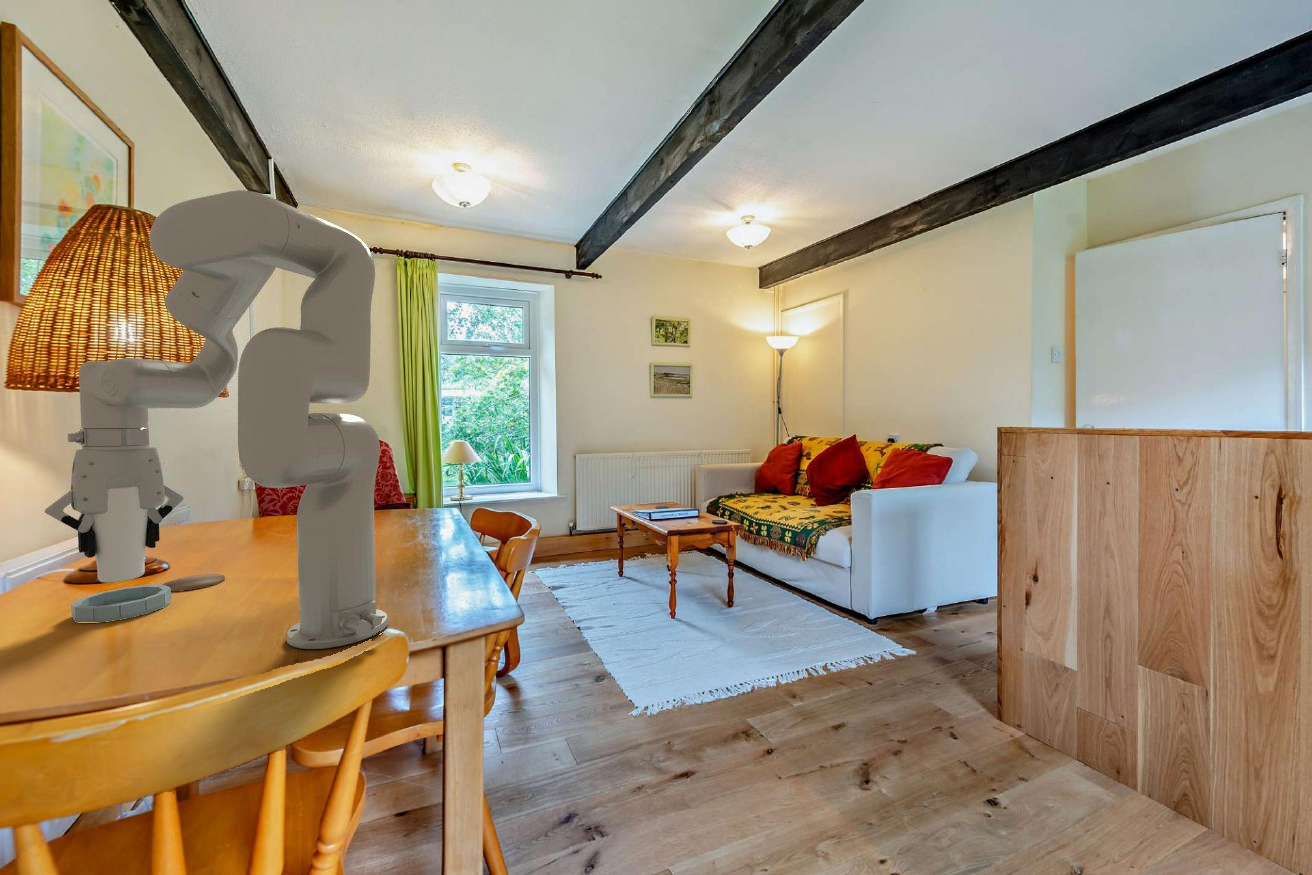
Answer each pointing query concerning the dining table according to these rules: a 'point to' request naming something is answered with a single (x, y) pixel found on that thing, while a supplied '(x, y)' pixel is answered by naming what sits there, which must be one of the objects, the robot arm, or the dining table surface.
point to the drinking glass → (120, 537)
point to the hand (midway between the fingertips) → (120, 550)
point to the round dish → (121, 603)
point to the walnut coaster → (195, 582)
